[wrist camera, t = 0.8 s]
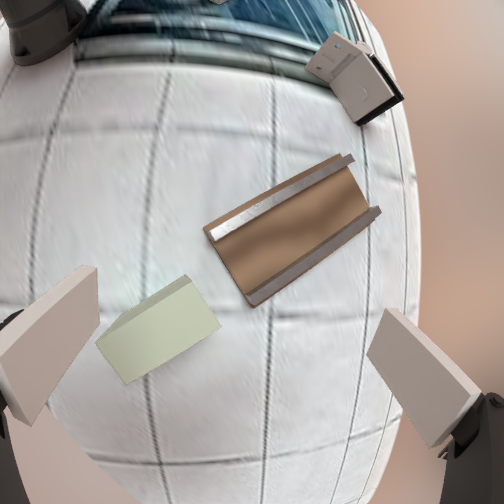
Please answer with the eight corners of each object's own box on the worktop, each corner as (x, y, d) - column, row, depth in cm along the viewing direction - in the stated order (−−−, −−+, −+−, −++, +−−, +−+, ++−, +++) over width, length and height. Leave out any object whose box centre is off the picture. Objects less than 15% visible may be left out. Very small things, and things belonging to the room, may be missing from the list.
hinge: (302, 67, 37) (332, 31, 27) (320, 59, 38) (350, 26, 28) (358, 129, 39) (398, 103, 29) (372, 117, 40) (411, 93, 31)
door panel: (121, 314, 28) (94, 343, 17) (185, 274, 31) (192, 281, 19) (141, 343, 29) (125, 385, 17) (203, 303, 31) (221, 326, 20)
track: (202, 227, 32) (206, 224, 29) (336, 155, 37) (347, 148, 34) (251, 307, 33) (258, 311, 30) (371, 220, 38) (384, 217, 36)
